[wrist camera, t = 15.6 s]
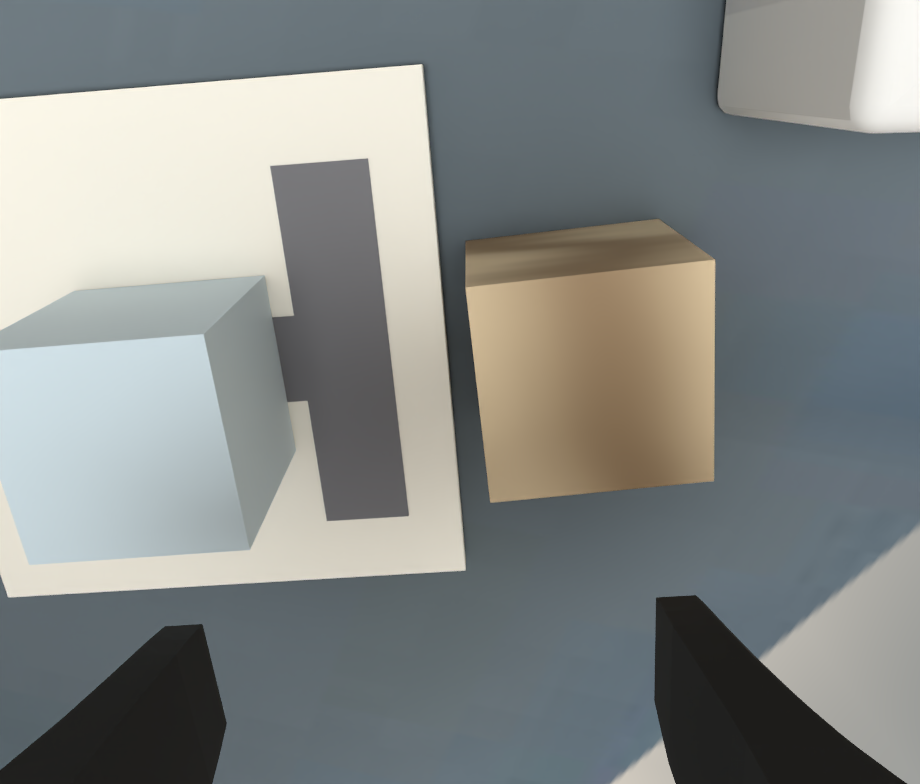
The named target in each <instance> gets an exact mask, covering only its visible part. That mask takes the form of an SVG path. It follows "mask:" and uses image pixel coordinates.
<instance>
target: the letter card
mask: <svg viewBox="0 0 920 784" xmlns="http://www.w3.org/2000/svg"><path fill="white" fill-rule="evenodd" d="M263 275H265V281H266V286H267V292H268V297H269V303H270V308H271V314H272V320H273V325H274V331H275V336H276V342H277V347H278V353H279V358H280V364H281V370H282V375H283V381H284V386H285V392H286V397H287V403H288V409H289V414H290V420H291V425H292V431H293V436H294V442H295V447H296V452H295V454H294V456H293V458H292V460H291V462H290V465H289V467H288V469H287V471H286V473H285V475H284V477H283V480H282V482H281V484H280V486H279V488H278V490H277V493H276V495H275V497H274V499H273V501H272V503H271V506H270V508H269V510H268V512H267V514H266V516H265V519H264V521H263V523H262V525H261V527H260V529H259V532H258V534H257V536H256V538H255V540H254V542H253V545H252V547H251V549H250V550H243V551H229V552H214V553H199V554H185V555H170V556H155V557H140V558H126V559H111V560H96V561H82V562H67V563H52V564H38V565H29V563H28V560H27V557H26V554H25V551H24V548H23V545H22V543H21V540H20V537H19V534H18V531H17V528H16V525H15V522H14V519H13V516H12V513H11V510H10V507H9V504H8V501H7V498H6V495H5V493H4V490H3V487H2V484H1V481H0V575H1V577H2V580H3V583H4V586H5V589H6V592H7V595H8V597H24V596H41V595H58V594H75V593H92V592H109V591H126V590H143V589H160V588H177V587H193V586H210V585H227V584H244V583H261V582H278V581H295V580H312V579H329V578H346V577H363V576H380V575H397V574H414V573H431V572H448V571H465V570H466V558H465V546H464V534H463V523H462V511H461V499H460V488H459V476H458V464H457V453H456V441H455V430H454V418H453V406H452V395H451V383H450V371H449V360H448V348H447V337H446V325H445V313H444V302H443V290H442V278H441V267H440V255H439V243H438V232H437V220H436V209H435V197H434V185H433V174H432V162H431V150H430V139H429V127H428V116H427V104H426V92H425V81H424V69H423V65H422V64H420V65H408V66H395V67H383V68H371V69H359V70H347V71H335V72H323V73H310V74H298V75H286V76H274V77H262V78H250V79H238V80H226V81H213V82H201V83H189V84H177V85H165V86H153V87H141V88H128V89H116V90H104V91H92V92H80V93H68V94H56V95H44V96H31V97H19V98H7V99H0V330H2V329H4V328H6V327H8V326H10V325H12V324H13V323H15V322H17V321H19V320H21V319H23V318H25V317H27V316H28V315H30V314H32V313H34V312H36V311H38V310H40V309H41V308H43V307H45V306H47V305H49V304H51V303H53V302H54V301H56V300H58V299H60V298H62V297H64V296H66V295H68V294H69V293H71V292H73V291H80V290H92V289H104V288H116V287H128V286H141V285H153V284H165V283H177V282H189V281H202V280H214V279H226V278H238V277H250V276H263Z"/></svg>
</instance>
